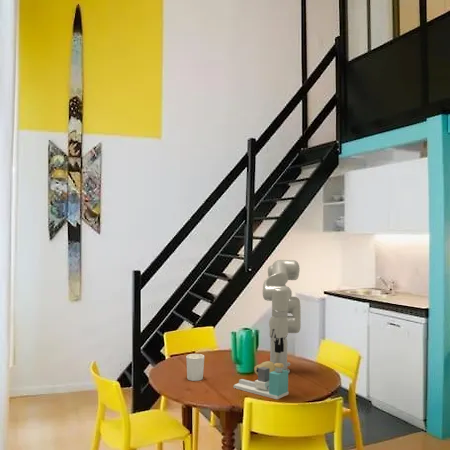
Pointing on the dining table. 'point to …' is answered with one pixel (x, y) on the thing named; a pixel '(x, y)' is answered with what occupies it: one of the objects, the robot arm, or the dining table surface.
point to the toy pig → (265, 364)
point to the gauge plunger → (278, 367)
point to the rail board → (258, 391)
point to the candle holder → (195, 366)
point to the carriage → (262, 378)
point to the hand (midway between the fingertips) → (279, 351)
